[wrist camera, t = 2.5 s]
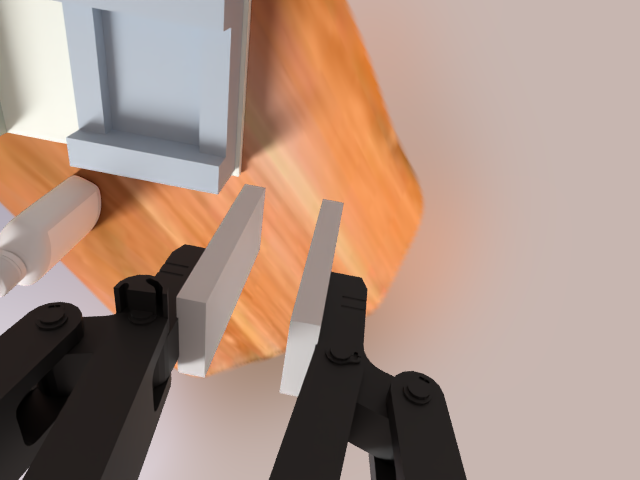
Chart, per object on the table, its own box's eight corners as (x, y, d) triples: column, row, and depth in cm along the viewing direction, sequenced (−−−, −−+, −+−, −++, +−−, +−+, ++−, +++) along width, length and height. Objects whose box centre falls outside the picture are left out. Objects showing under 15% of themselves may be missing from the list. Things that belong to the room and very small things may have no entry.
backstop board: (-70, -83, 29) (-122, -85, 26) (253, -25, 28) (236, -21, 25) (-19, 123, 36) (-55, 140, 33) (240, 173, 35) (227, 194, 32)
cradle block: (80, -45, 28) (38, -43, 25) (244, -16, 28) (224, -10, 25) (101, 144, 35) (70, 165, 31) (234, 169, 35) (218, 194, 31)
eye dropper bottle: (123, 210, 38) (27, 305, 28) (78, 238, 41) (-25, 336, 30) (83, 166, 37) (-34, 251, 27) (39, 198, 39) (-85, 288, 29)
